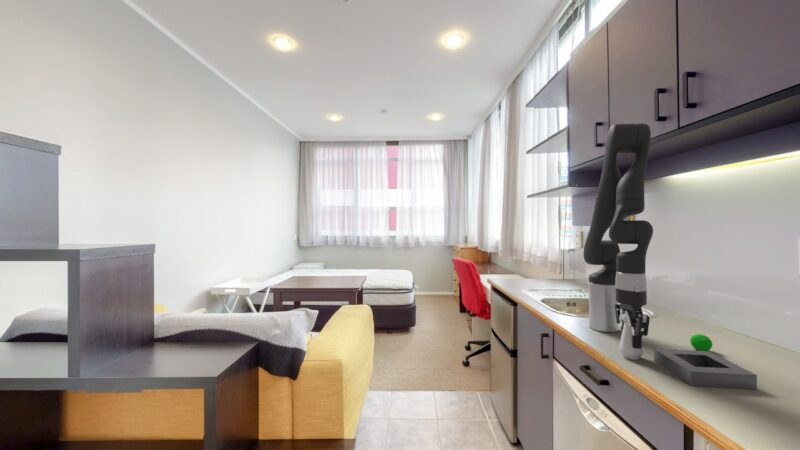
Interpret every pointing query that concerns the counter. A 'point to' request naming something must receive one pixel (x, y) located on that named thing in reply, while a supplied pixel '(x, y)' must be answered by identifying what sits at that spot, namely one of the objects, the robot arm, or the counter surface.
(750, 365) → the counter surface
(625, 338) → the salt shaker
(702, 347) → the polyhedron
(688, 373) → the collar
